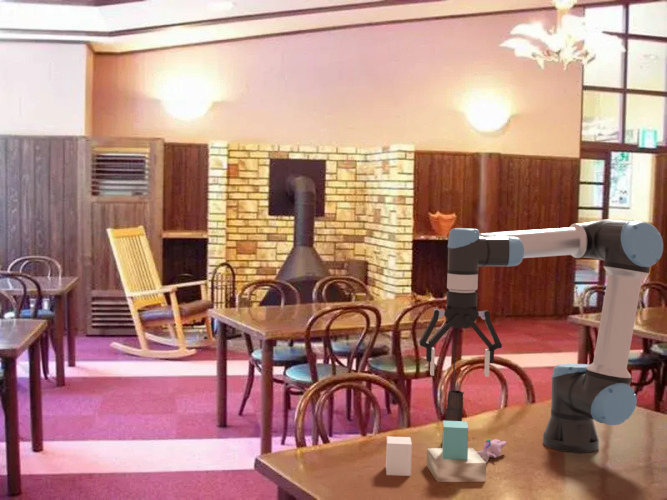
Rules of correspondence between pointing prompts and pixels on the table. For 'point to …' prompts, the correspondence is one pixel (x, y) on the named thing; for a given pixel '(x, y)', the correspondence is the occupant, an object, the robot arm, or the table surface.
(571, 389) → the robot arm
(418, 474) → the table surface
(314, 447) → the table surface
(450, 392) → the butter churn
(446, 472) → the birch base
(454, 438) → the teal block
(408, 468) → the off-white block
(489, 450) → the pink animal figurine
